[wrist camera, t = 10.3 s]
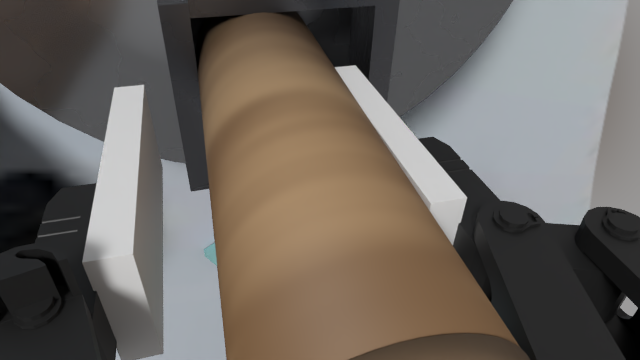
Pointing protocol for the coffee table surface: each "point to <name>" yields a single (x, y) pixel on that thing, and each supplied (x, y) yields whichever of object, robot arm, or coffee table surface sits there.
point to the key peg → (322, 215)
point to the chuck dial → (181, 66)
